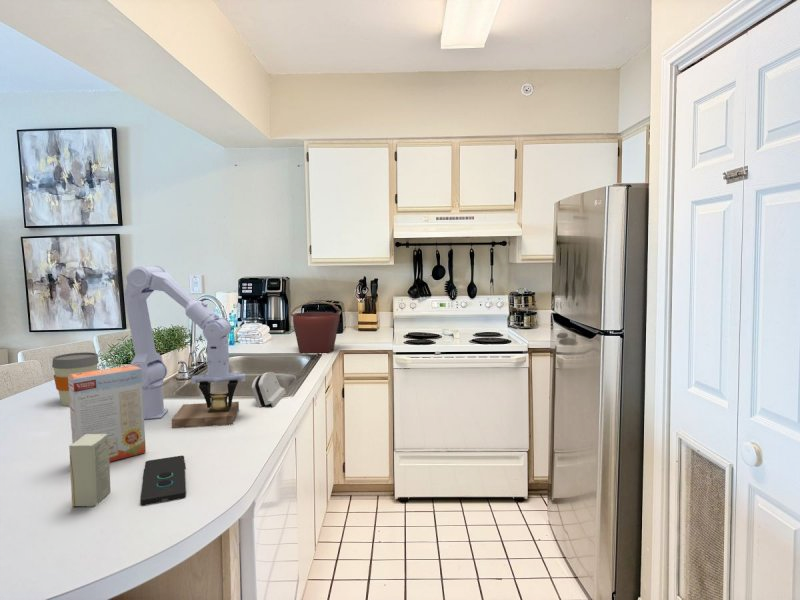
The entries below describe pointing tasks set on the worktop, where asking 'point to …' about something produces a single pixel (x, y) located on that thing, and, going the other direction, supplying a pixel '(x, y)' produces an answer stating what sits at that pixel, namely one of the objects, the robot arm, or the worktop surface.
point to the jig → (203, 416)
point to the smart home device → (163, 480)
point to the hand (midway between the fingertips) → (219, 406)
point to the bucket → (316, 329)
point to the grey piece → (267, 389)
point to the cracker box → (109, 408)
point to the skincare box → (89, 469)
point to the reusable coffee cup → (71, 370)
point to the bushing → (218, 401)
